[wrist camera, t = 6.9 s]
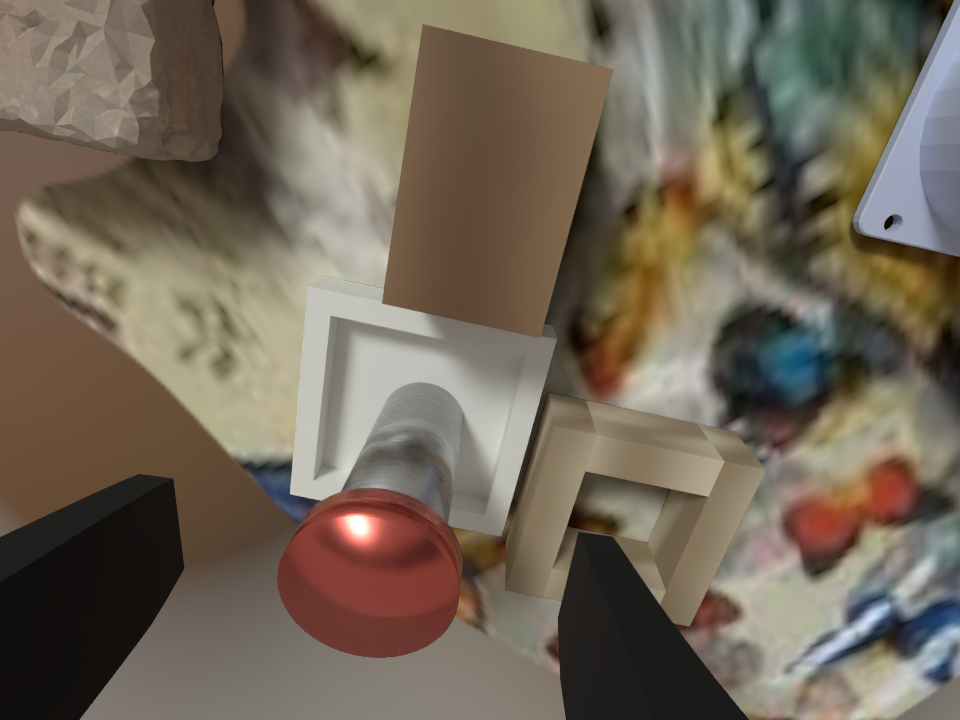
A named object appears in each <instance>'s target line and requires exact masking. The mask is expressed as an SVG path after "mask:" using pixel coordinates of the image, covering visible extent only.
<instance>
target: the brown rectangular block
mask: <svg viewBox="0 0 960 720" xmlns="http://www.w3.org/2000/svg"><path fill="white" fill-rule="evenodd" d="M612 72H613V69H610V68H605V67H601V66H597V65H593V64H589V63H584V62H580V61H576V60H572V59H568V58H563V57H559V56H555V55H551V54H546V53H542V52H538V51H534V50H530V49H525V48H521V47H517V46H513V45H509V44H504V43H500V42H496V41H492V40H487V39H483V38H479V37H475V36H471V35H466V34H462V33H458V32H454V31H450V30H445V29H441V28H437V27H433V26H428V25H424V24H423V27H422V34H421V41H420V48H419V54H418V61H417V68H416V75H415V82H414V88H413V95H412V102H411V109H410V116H409V122H408V129H407V136H406V143H405V150H404V157H403V163H402V170H401V177H400V184H399V191H398V197H397V204H396V211H395V218H394V225H393V231H392V238H391V245H390V252H389V259H388V265H387V272H386V279H385V286H384V293H383V299H382V304H386V305H390V306H395V307H399V308H404V309H409V310H413V311H418V312H422V313H427V314H431V315H436V316H441V317H445V318H450V319H454V320H459V321H463V322H468V323H473V324H477V325H482V326H486V327H491V328H495V329H500V330H505V331H509V332H514V333H518V334H523V335H527V336H532V337H537V338H540V337H541V333H542V330H543V326H544V322H545V319H546V315H547V311H548V308H549V304H550V300H551V297H552V293H553V289H554V285H555V282H556V278H557V274H558V271H559V267H560V263H561V260H562V256H563V252H564V249H565V245H566V241H567V238H568V234H569V230H570V227H571V223H572V219H573V216H574V212H575V208H576V205H577V201H578V197H579V194H580V190H581V186H582V183H583V179H584V175H585V172H586V168H587V164H588V161H589V157H590V153H591V149H592V146H593V142H594V138H595V135H596V131H597V127H598V124H599V120H600V116H601V113H602V109H603V105H604V102H605V98H606V94H607V91H608V87H609V83H610V80H611V76H612Z"/></svg>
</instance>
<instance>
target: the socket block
mask: <svg viewBox="0 0 960 720" xmlns="http://www.w3.org/2000/svg"><path fill="white" fill-rule="evenodd" d="M585 471H586V472H591V473H596V474H601V475H606V476H610V477H615V478H620V479H625V480H630V481H635V482H640V483H644V484H649V485H654V486H659V487H664V488H669V489H670V491H669V494H668V496H667V498H666V501H665V503H664V506H663V508H662V510H661V513H660V515H659V518H658V520H657V522H656V525H655V527H654V530H653V532H652V534H651V537H650V539H649V542H648V543H645V542H641V541H636V540H631V539H626V538H621V537H616V536H613V537H614V539H615V540H616V541H617V543H618V544H619V546H620V547H621V548H622V550H623V551H624V553H625V554H626V556H627V557H628V559H629V560H630V562H631V563H632V565H633V566H634V568H635V569H636V571H637V572H638V574H639V575H640V577H641V578H642V579H643V581H644V582H645V584H646V585H647V587H648V588H649V590H650V591H651V592H652V594H653V595H654V597H655V598H656V600H657V601H658V603H659V604H660V605H661V607H662V608H663V610H664V611H665V612H666V614H667V615H668V617H669V618H670V619H671V621H672V622H673V623H674V624H679V625H684V626H690V624H691V622H692V620H693V618H694V616H695V614H696V612H697V610H698V608H699V606H700V604H701V602H702V600H703V598H704V596H705V594H706V592H707V590H708V588H709V586H710V584H711V582H712V580H713V578H714V576H715V574H716V572H717V570H718V568H719V565H720V563H721V561H722V559H723V557H724V555H725V553H726V551H727V549H728V547H729V545H730V543H731V541H732V539H733V537H734V535H735V533H736V531H737V529H738V527H739V525H740V523H741V521H742V519H743V517H744V515H745V513H746V511H747V509H748V507H749V505H750V503H751V500H752V498H753V496H754V494H755V492H756V490H757V488H758V486H759V484H760V482H761V480H762V478H763V476H764V474H765V472H766V469H765V468H764V467H763V465H762V464H761V463H760V462H759V461H758V459H757V458H756V457H755V456H754V455H753V454H752V452H751V451H750V450H749V449H748V448H747V446H746V445H745V444H744V443H743V442H742V440H741V439H740V438H739V437H738V436H737V434H736V433H735V432H733V431H728V430H724V429H719V428H714V427H709V426H705V425H700V424H695V423H690V422H686V421H681V420H676V419H671V418H667V417H662V416H657V415H652V414H648V413H643V412H638V411H634V410H629V409H624V408H619V407H615V406H610V405H605V404H600V403H596V402H591V401H586V400H581V399H577V398H572V397H567V396H563V395H558V394H553V393H548V396H547V400H546V403H545V407H544V410H543V414H542V417H541V421H540V424H539V428H538V431H537V435H536V438H535V442H534V445H533V449H532V452H531V456H530V459H529V463H528V466H527V470H526V473H525V477H524V480H523V484H522V487H521V491H520V494H519V498H518V501H517V505H516V508H515V512H514V515H513V519H512V522H511V526H510V529H509V533H508V536H507V540H506V590H508V591H513V592H518V593H523V594H528V595H533V596H538V597H543V598H548V599H553V600H558V601H562V599H563V594H564V590H565V586H566V582H567V577H568V573H569V569H570V565H571V560H572V556H573V552H574V548H575V544H576V539H577V535H578V532H584V533H591V534H599V535H606V534H601V533H596V532H591V531H586V530H581V529H576V528H572V527H567V524H568V521H569V518H570V515H571V512H572V509H573V506H574V503H575V500H576V497H577V494H578V491H579V488H580V485H581V482H582V479H583V476H584V473H585ZM606 536H611V535H606Z"/></svg>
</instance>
